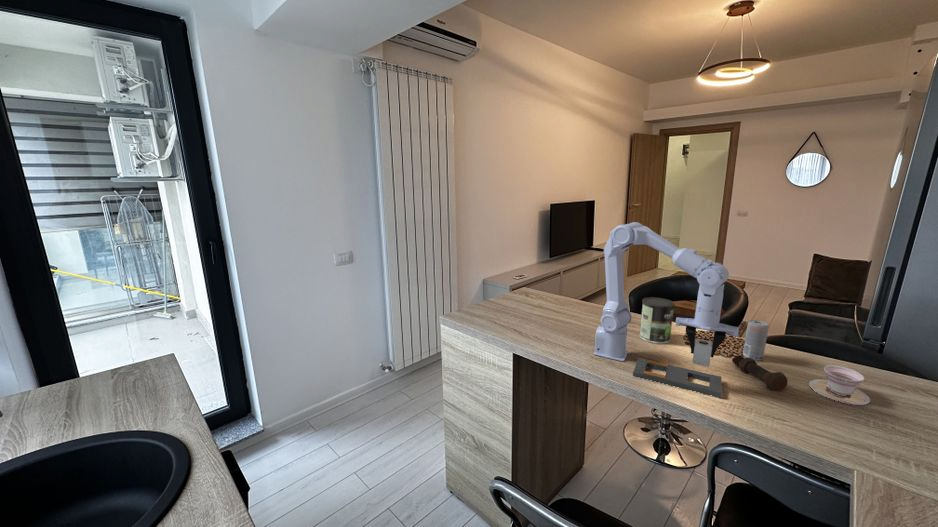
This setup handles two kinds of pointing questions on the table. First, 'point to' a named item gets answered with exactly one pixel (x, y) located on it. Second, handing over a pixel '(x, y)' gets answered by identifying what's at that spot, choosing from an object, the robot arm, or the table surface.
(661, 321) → the coffee can
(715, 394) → the rail
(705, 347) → the nut block
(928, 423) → the table surface
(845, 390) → the teacup
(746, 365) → the dark brown lumpy rod
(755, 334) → the energy drink
